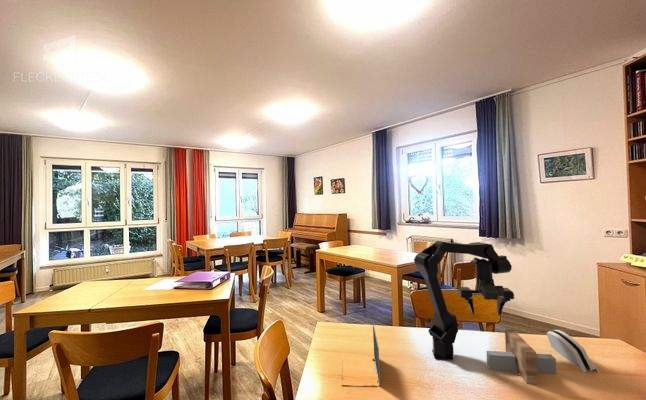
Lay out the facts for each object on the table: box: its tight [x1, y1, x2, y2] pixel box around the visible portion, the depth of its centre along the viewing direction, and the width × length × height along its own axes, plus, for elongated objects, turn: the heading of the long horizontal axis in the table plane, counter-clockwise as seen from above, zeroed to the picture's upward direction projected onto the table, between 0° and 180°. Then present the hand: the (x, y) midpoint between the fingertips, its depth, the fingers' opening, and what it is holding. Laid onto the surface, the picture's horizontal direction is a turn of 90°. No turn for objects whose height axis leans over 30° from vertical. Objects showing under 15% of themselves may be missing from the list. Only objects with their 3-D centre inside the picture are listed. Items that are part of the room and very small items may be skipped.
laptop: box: [372, 324, 381, 386], centre depth 103 cm, size 18×12×13 cm
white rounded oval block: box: [546, 329, 600, 373], centre depth 105 cm, size 17×5×10 cm, turn 172°
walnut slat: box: [504, 329, 538, 385], centre depth 100 cm, size 16×3×10 cm, turn 168°
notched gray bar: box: [486, 350, 558, 375], centre depth 100 cm, size 20×3×5 cm, turn 78°
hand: (485, 314), depth 115 cm, fingers open, 9 cm apart
